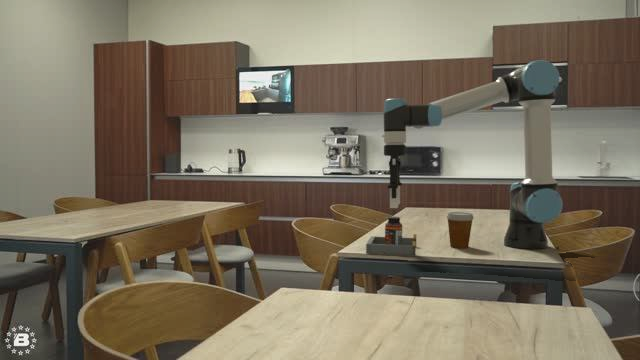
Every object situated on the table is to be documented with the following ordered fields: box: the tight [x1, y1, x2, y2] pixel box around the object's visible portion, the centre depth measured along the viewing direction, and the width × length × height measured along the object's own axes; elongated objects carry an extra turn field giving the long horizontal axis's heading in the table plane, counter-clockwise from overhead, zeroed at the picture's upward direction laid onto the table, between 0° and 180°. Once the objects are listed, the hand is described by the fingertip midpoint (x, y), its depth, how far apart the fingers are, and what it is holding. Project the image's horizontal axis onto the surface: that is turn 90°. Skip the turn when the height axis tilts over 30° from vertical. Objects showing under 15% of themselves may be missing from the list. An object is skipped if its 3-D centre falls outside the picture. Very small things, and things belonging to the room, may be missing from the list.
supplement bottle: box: [384, 216, 403, 245], centre depth 202 cm, size 6×6×11 cm
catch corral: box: [365, 233, 417, 256], centre depth 202 cm, size 16×18×4 cm
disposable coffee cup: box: [446, 211, 475, 249], centre depth 210 cm, size 10×10×12 cm
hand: (395, 206), depth 202 cm, fingers open, 13 cm apart
